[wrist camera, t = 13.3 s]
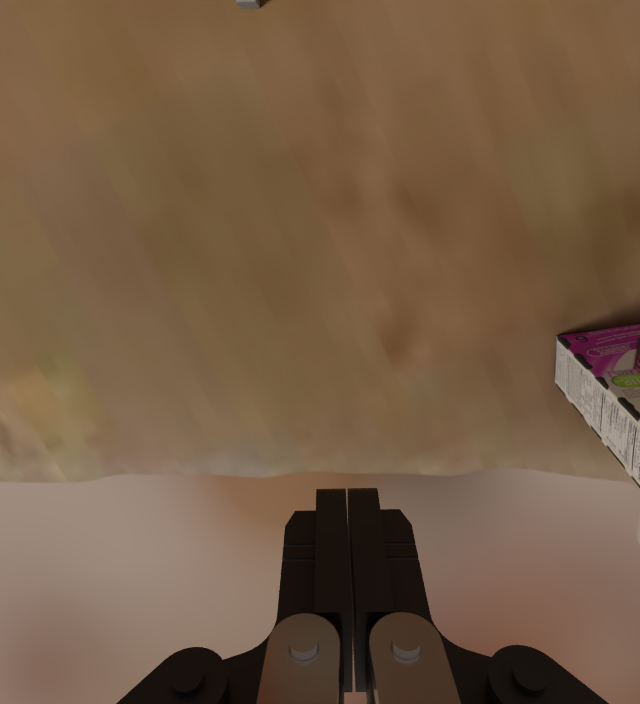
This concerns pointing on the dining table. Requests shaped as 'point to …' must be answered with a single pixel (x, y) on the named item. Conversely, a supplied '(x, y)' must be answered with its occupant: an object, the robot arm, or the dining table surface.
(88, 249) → the dining table surface
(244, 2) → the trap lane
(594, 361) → the candy bar box
